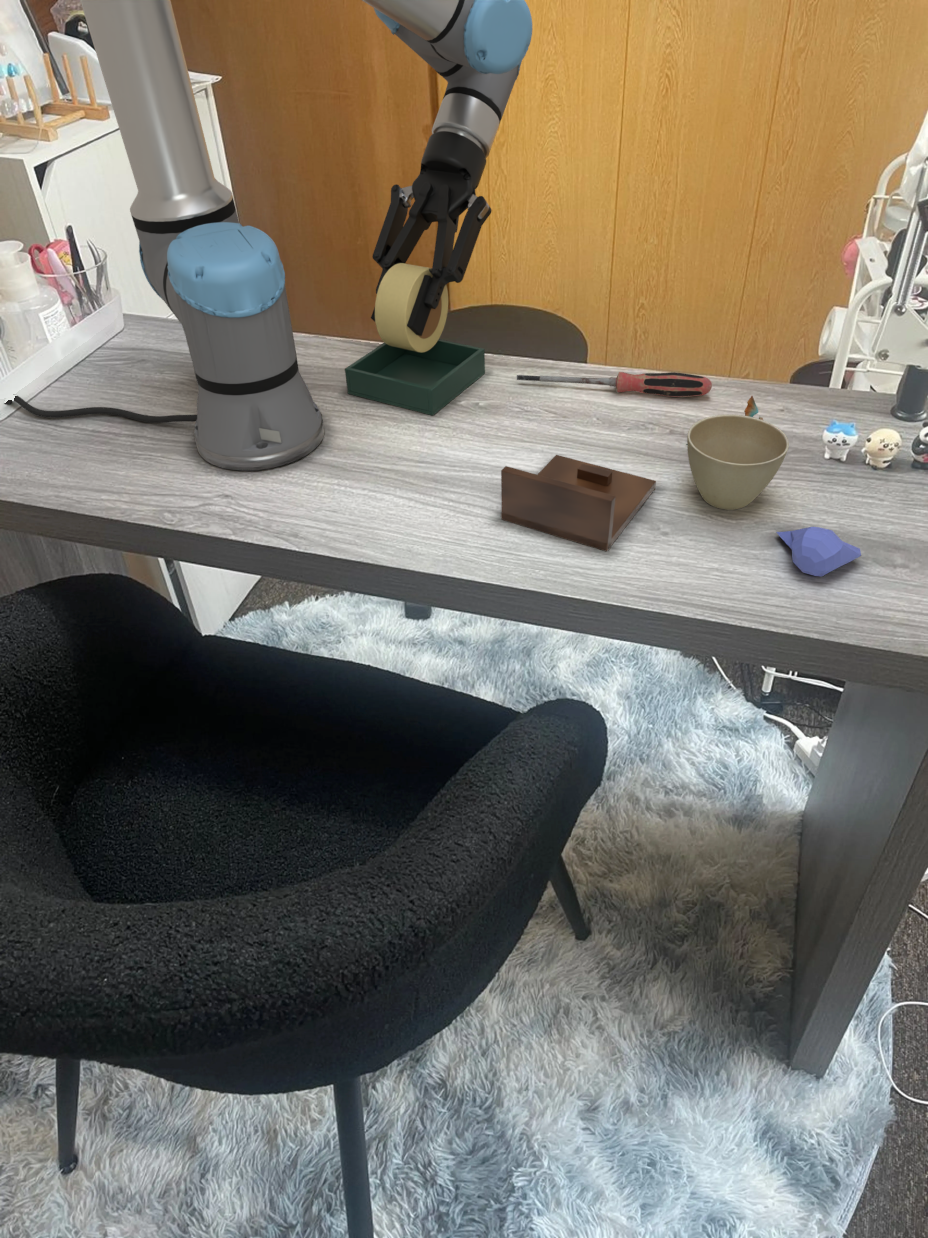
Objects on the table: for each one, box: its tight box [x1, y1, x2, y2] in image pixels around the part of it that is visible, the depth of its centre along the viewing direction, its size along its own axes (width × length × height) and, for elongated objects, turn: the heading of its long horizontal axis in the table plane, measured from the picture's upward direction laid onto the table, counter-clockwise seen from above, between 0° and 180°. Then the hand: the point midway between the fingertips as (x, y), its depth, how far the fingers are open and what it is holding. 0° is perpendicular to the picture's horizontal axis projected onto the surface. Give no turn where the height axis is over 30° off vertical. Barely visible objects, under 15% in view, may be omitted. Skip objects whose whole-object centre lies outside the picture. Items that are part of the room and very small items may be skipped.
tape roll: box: [374, 263, 449, 353], centre depth 111 cm, size 5×10×10 cm, turn 150°
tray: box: [344, 338, 486, 417], centre depth 116 cm, size 13×13×4 cm
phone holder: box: [500, 454, 657, 552], centre depth 93 cm, size 12×13×6 cm
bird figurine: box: [776, 526, 862, 577], centre depth 85 cm, size 8×6×6 cm
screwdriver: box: [516, 371, 713, 398], centre depth 113 cm, size 25×3×3 cm
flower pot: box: [686, 413, 790, 511], centre depth 92 cm, size 10×10×7 cm
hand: (396, 326), depth 109 cm, fingers closed on tape roll, 5 cm apart
